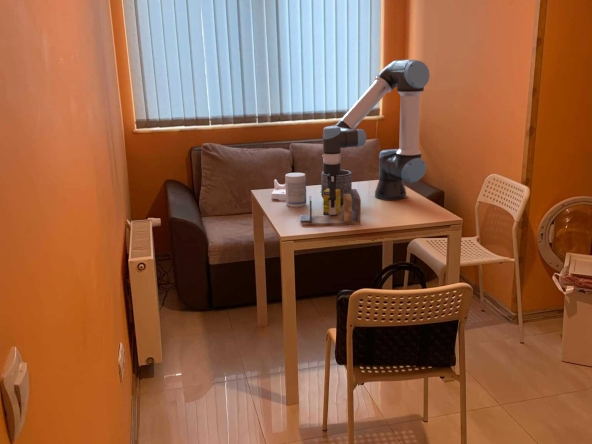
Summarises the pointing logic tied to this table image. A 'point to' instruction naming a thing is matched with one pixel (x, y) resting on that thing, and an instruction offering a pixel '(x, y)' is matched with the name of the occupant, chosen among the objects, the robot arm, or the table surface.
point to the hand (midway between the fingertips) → (331, 210)
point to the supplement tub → (295, 189)
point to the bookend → (307, 217)
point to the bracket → (279, 191)
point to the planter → (338, 183)
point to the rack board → (333, 219)
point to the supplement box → (326, 202)
